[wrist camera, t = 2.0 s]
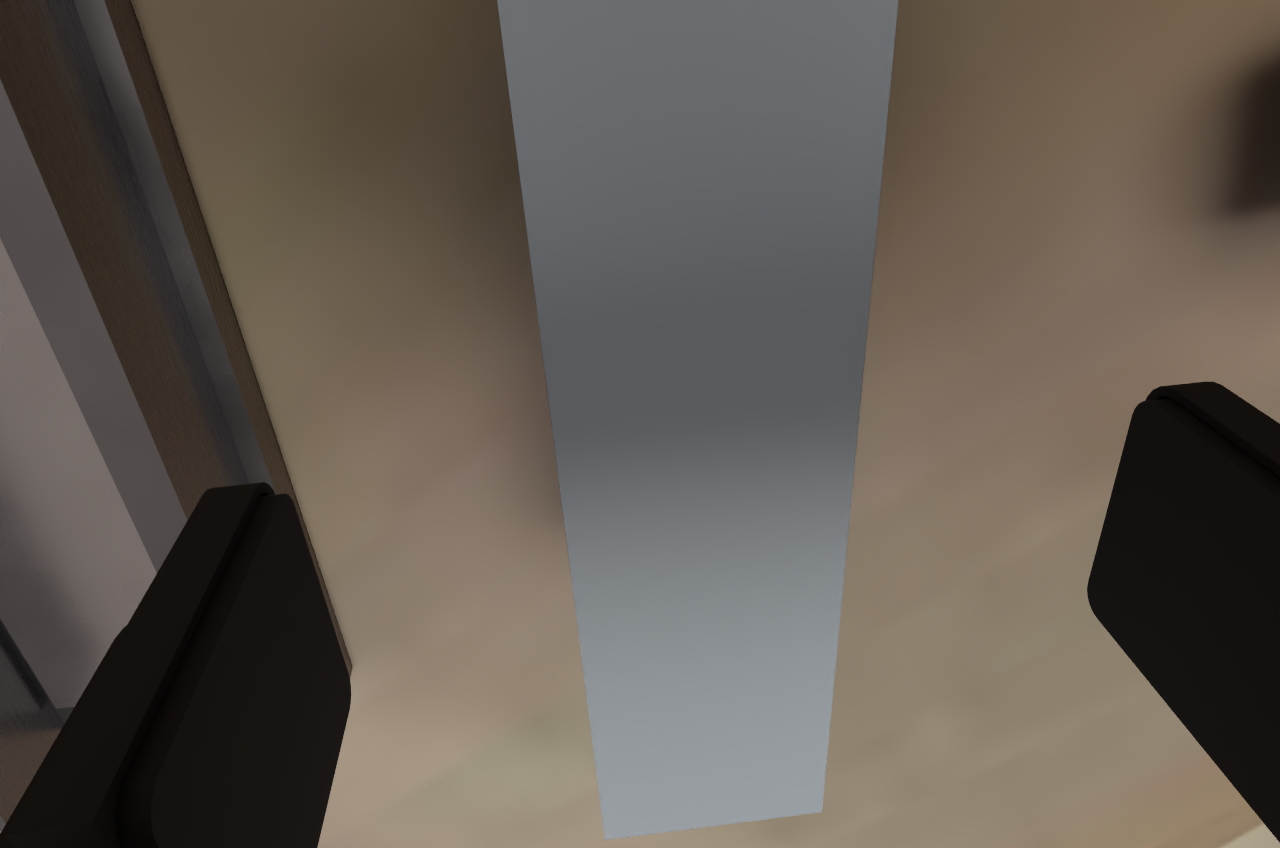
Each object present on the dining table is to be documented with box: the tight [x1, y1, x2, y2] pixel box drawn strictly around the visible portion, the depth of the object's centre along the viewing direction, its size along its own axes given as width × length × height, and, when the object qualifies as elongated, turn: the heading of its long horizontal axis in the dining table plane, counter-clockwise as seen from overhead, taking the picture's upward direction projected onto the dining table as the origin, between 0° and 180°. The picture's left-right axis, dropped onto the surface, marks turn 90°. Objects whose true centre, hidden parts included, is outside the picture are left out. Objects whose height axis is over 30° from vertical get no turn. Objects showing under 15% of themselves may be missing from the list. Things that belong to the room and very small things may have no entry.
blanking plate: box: [497, 0, 899, 840], centre depth 15 cm, size 18×4×9 cm, turn 3°
